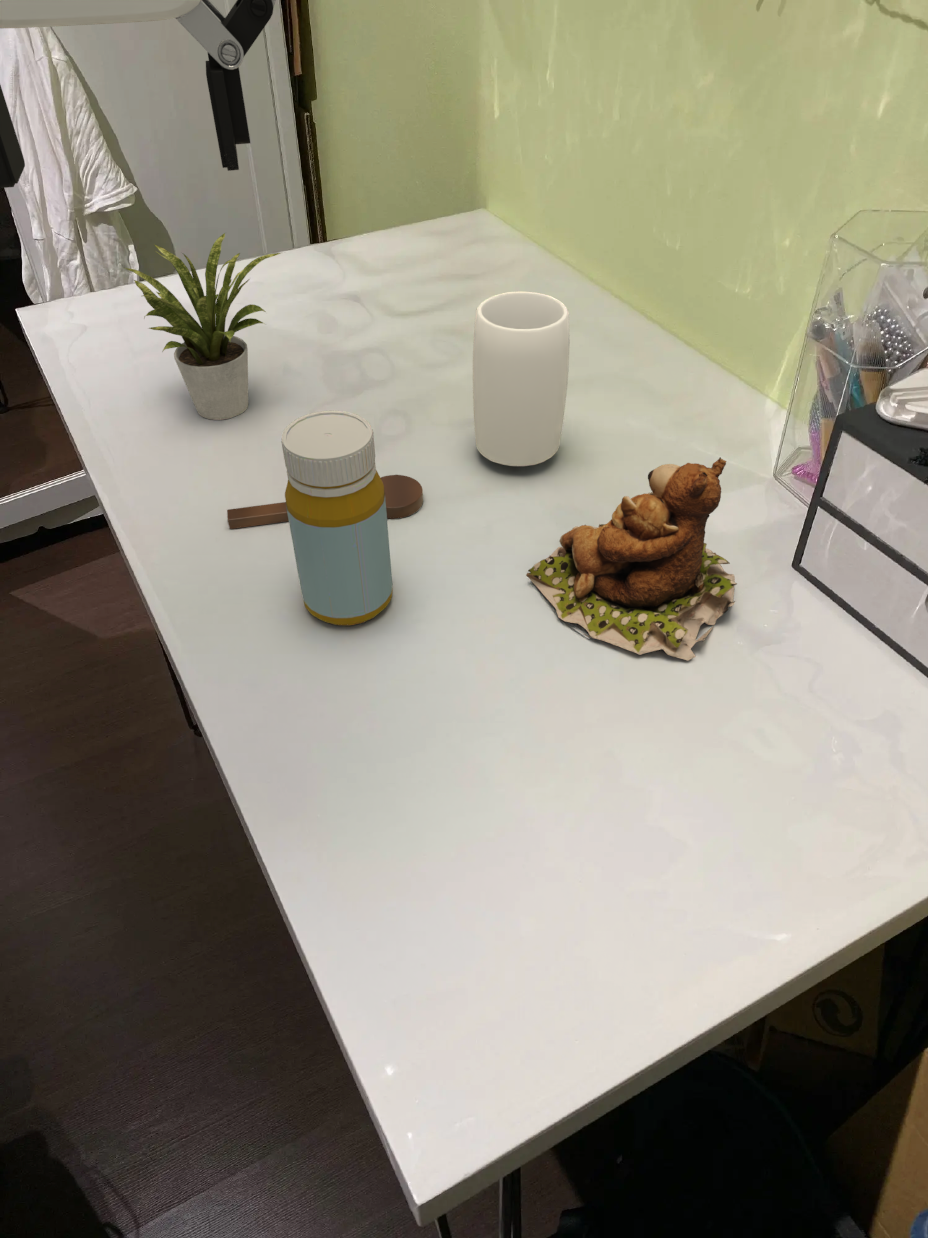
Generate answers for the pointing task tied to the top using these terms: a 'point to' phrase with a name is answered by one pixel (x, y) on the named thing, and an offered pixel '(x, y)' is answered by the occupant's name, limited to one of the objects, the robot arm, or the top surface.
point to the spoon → (399, 498)
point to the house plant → (207, 333)
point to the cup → (520, 377)
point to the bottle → (337, 517)
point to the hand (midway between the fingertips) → (124, 169)
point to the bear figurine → (645, 567)
